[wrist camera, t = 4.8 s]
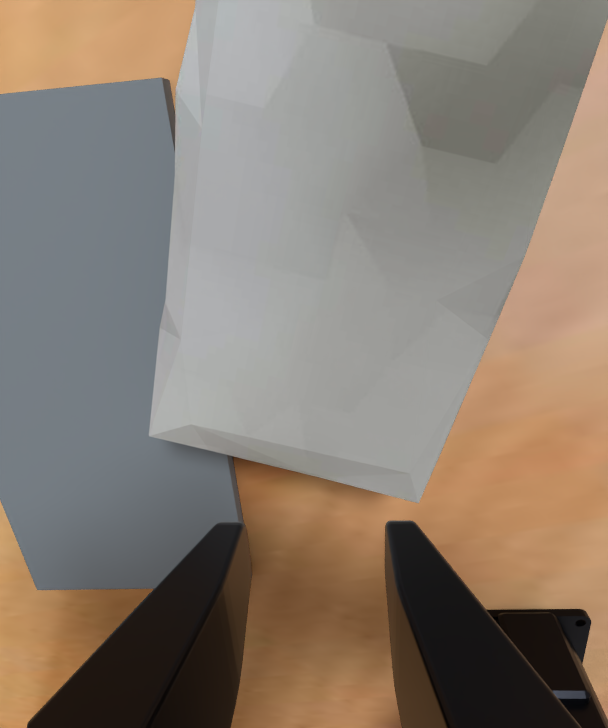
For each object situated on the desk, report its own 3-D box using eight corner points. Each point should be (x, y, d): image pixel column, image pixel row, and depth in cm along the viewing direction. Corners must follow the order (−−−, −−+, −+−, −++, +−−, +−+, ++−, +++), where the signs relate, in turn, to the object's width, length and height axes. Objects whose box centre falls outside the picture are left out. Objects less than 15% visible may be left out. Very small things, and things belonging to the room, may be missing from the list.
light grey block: (608, -95, 14) (260, -174, 14) (715, -203, 10) (211, -314, 10) (413, 439, 22) (186, 382, 22) (423, 515, 17) (139, 443, 17)
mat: (252, 574, 26) (249, 587, 25) (45, 577, 27) (37, 590, 26) (169, 80, 17) (161, 77, 16) (-140, 111, 18) (-160, 110, 17)
